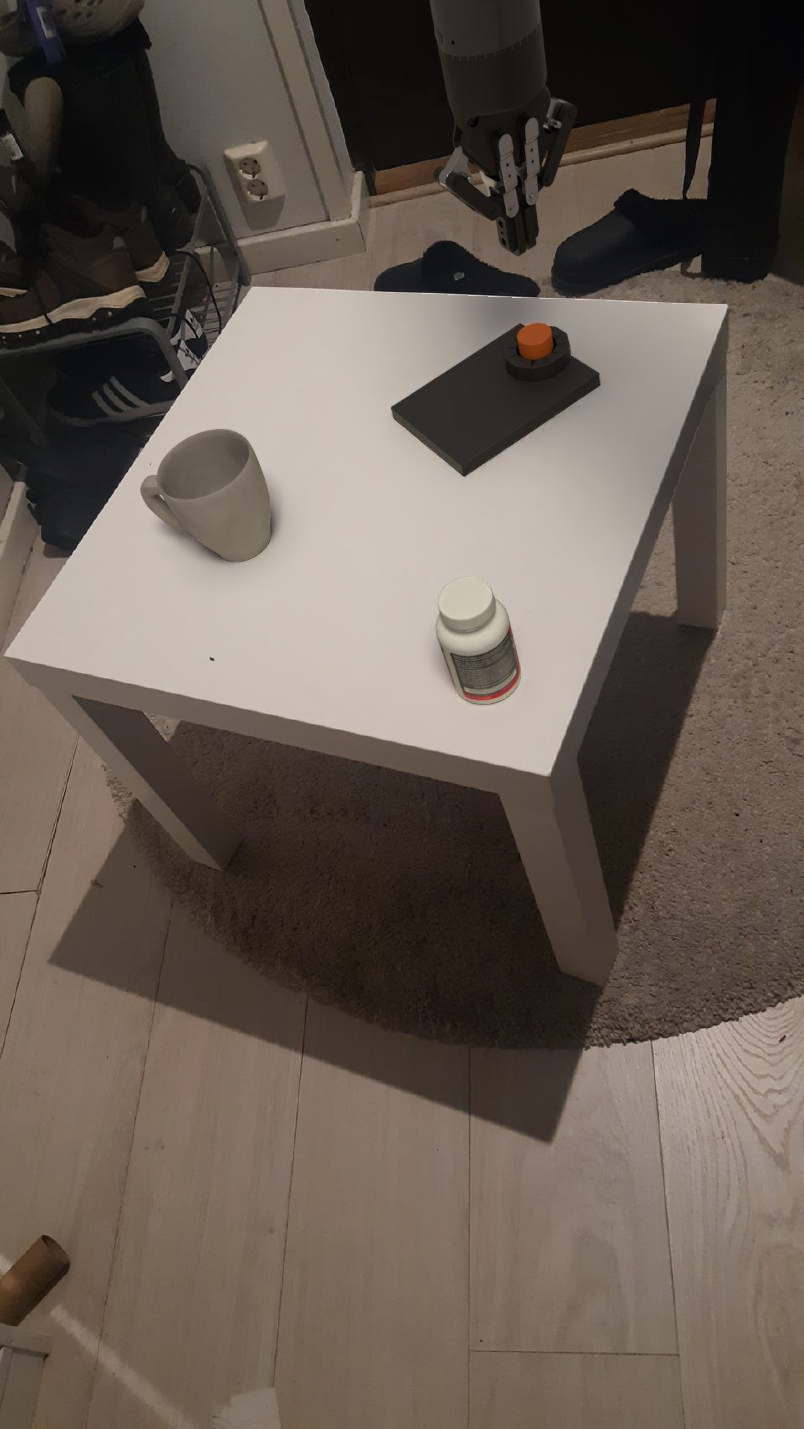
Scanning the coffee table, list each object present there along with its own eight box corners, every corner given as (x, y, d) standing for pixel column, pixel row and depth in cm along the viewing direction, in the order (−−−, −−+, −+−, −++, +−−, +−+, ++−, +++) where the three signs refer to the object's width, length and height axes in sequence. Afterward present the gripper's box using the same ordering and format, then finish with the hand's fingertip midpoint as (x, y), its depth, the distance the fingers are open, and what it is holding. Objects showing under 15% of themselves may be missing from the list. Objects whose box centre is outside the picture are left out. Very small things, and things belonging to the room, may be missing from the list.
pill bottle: (536, 671, 76) (518, 590, 68) (489, 718, 74) (465, 640, 67) (486, 639, 79) (463, 557, 71) (439, 683, 77) (411, 605, 70)
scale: (526, 331, 99) (522, 305, 96) (605, 382, 92) (603, 355, 90) (393, 418, 96) (385, 394, 94) (464, 477, 89) (457, 452, 87)
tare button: (539, 334, 94) (537, 318, 93) (560, 347, 92) (558, 331, 91) (512, 351, 93) (510, 335, 92) (533, 365, 92) (531, 349, 90)
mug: (299, 504, 93) (263, 425, 85) (274, 576, 88) (234, 499, 81) (186, 507, 96) (142, 431, 89) (157, 577, 92) (108, 503, 84)
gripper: (442, 82, 67) (485, 304, 81) (594, -9, 69) (610, 224, 83) (384, 56, 72) (434, 272, 86) (528, -28, 74) (554, 196, 88)
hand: (521, 247), depth 84 cm, fingers closed
